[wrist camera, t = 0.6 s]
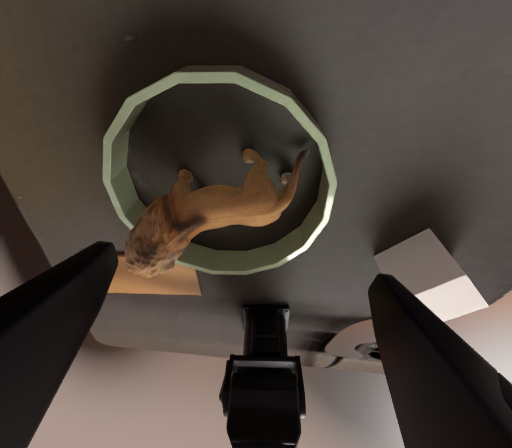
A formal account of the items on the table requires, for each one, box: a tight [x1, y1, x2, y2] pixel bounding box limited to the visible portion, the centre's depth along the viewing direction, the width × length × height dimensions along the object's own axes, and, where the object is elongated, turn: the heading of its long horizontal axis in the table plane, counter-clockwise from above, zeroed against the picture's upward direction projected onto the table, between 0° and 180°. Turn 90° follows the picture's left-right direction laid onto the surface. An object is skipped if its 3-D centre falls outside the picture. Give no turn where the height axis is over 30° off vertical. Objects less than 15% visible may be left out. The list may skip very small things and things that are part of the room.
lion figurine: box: [124, 149, 310, 278], centre depth 19 cm, size 15×5×9 cm, turn 115°
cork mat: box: [107, 254, 202, 295], centre depth 31 cm, size 7×13×1 cm, turn 90°
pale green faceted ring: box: [103, 65, 337, 275], centre depth 22 cm, size 18×18×3 cm
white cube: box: [374, 228, 489, 322], centre depth 25 cm, size 6×6×6 cm
